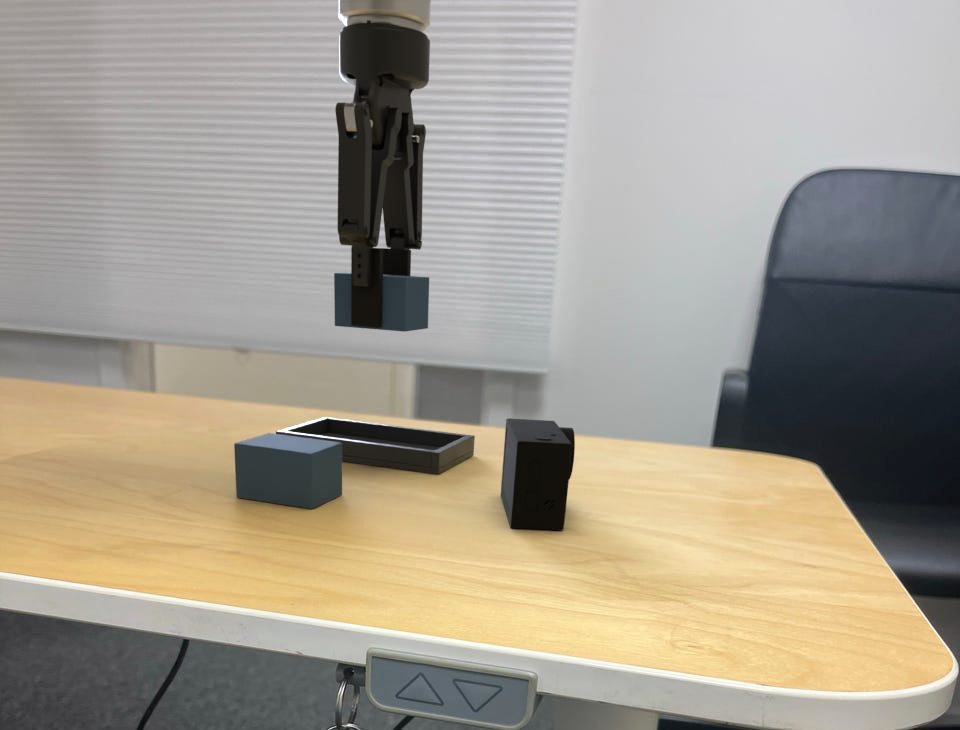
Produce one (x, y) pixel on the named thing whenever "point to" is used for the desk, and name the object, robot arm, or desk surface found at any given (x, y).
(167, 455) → the desk surface
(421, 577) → the desk surface
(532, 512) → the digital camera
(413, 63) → the robot arm
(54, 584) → the desk surface
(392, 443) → the tray
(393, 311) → the blue block
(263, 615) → the desk surface
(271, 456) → the blue-grey rectangular block
